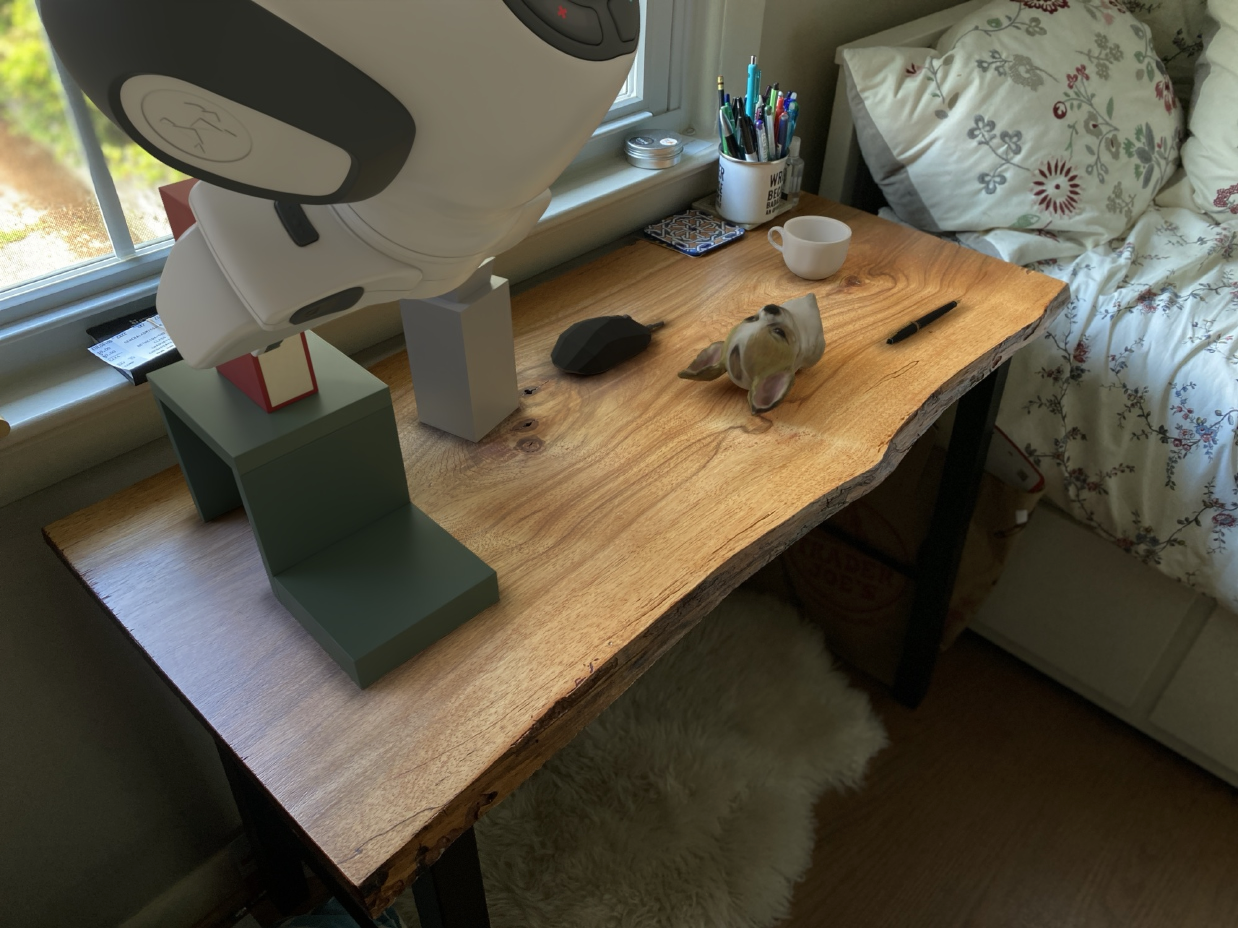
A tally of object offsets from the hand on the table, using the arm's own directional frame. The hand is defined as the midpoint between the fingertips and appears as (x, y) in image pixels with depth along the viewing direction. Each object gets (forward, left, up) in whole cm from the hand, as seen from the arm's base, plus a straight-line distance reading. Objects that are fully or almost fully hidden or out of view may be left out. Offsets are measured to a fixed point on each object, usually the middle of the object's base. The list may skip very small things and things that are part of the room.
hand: (334, 310), depth 53 cm
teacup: (+66, +13, -25) cm, 72 cm away
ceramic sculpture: (+43, +1, -25) cm, 50 cm away
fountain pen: (+65, -5, -25) cm, 70 cm away
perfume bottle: (+19, +17, -25) cm, 36 cm away
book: (0, +14, -11) cm, 18 cm away
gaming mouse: (+37, +16, -25) cm, 48 cm away
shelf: (0, +9, -25) cm, 27 cm away
